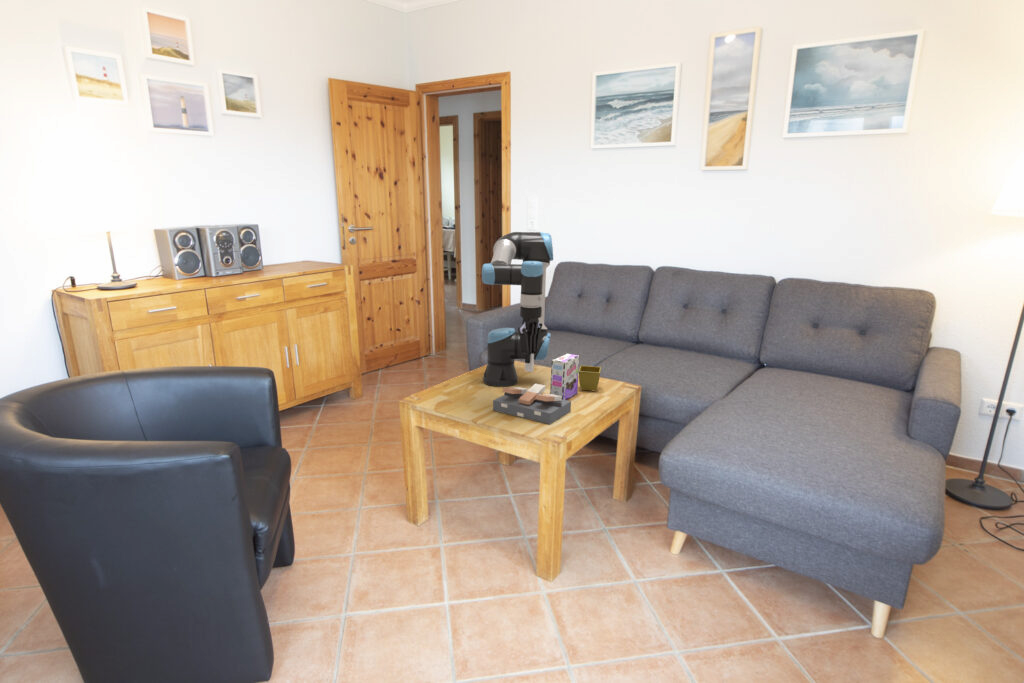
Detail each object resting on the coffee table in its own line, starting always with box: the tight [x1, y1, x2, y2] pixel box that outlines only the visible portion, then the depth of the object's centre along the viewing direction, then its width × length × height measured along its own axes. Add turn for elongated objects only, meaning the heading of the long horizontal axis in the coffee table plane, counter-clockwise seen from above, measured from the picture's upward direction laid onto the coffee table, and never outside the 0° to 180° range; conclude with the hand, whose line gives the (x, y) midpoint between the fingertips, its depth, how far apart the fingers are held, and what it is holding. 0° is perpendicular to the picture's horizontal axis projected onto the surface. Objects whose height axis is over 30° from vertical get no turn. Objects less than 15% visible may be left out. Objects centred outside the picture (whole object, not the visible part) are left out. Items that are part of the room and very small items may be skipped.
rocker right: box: [536, 393, 562, 401], centre depth 202 cm, size 4×12×2 cm, turn 147°
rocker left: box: [502, 386, 530, 394], centre depth 209 cm, size 4×12×2 cm, turn 147°
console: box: [492, 392, 572, 425], centre depth 206 cm, size 24×16×6 cm
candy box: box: [549, 353, 580, 401], centre depth 222 cm, size 14×6×16 cm, turn 148°
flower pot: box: [578, 365, 602, 391], centre depth 233 cm, size 9×9×9 cm
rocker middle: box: [519, 383, 546, 405], centre depth 206 cm, size 4×12×2 cm, turn 147°
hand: (529, 371), depth 200 cm, fingers closed
